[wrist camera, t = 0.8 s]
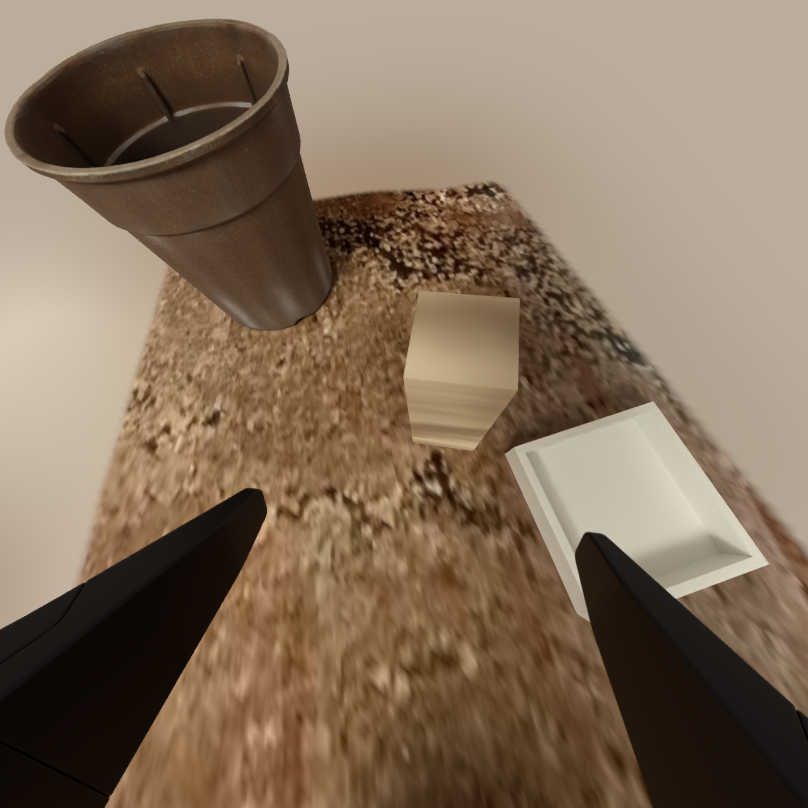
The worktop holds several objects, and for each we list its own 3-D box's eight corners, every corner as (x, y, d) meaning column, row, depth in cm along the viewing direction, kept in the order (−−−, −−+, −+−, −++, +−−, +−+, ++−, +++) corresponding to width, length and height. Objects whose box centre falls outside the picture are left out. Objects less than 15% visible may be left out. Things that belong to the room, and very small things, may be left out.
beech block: (473, 451, 23) (517, 390, 12) (413, 442, 24) (403, 377, 13) (477, 395, 25) (519, 298, 14) (421, 388, 26) (419, 290, 15)
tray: (728, 558, 19) (769, 564, 17) (577, 613, 19) (598, 627, 17) (630, 412, 24) (653, 401, 21) (504, 454, 23) (513, 447, 21)
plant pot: (345, 349, 28) (253, 154, 13) (188, 353, 29) (-65, 178, 14) (357, 232, 34) (303, 6, 19) (227, 239, 35) (78, 30, 20)
